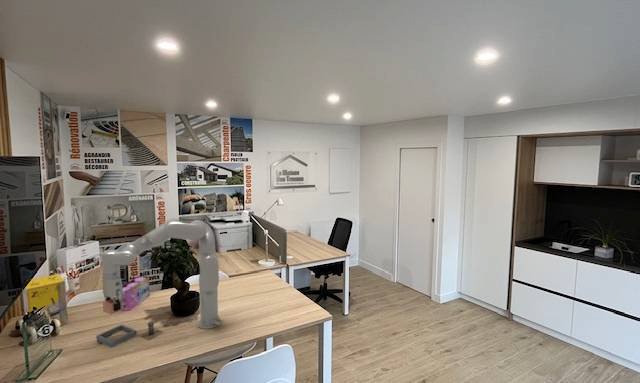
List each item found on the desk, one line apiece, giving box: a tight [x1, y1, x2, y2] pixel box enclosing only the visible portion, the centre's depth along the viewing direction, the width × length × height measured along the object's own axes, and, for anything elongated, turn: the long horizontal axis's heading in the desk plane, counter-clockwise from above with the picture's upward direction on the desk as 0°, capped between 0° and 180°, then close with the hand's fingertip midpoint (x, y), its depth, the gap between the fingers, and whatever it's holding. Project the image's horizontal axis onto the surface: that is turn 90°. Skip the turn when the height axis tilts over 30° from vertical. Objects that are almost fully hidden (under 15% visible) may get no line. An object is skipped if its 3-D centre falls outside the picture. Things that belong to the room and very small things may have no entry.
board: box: [137, 321, 165, 341], centre depth 176 cm, size 9×9×7 cm
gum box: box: [116, 275, 151, 311], centre depth 214 cm, size 24×8×14 cm, turn 177°
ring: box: [102, 298, 124, 316], centre depth 170 cm, size 6×8×5 cm
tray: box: [95, 324, 138, 348], centre depth 172 cm, size 13×13×4 cm
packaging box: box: [22, 273, 69, 327], centre depth 186 cm, size 16×16×25 cm
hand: (113, 308), depth 170 cm, fingers closed on ring, 6 cm apart
